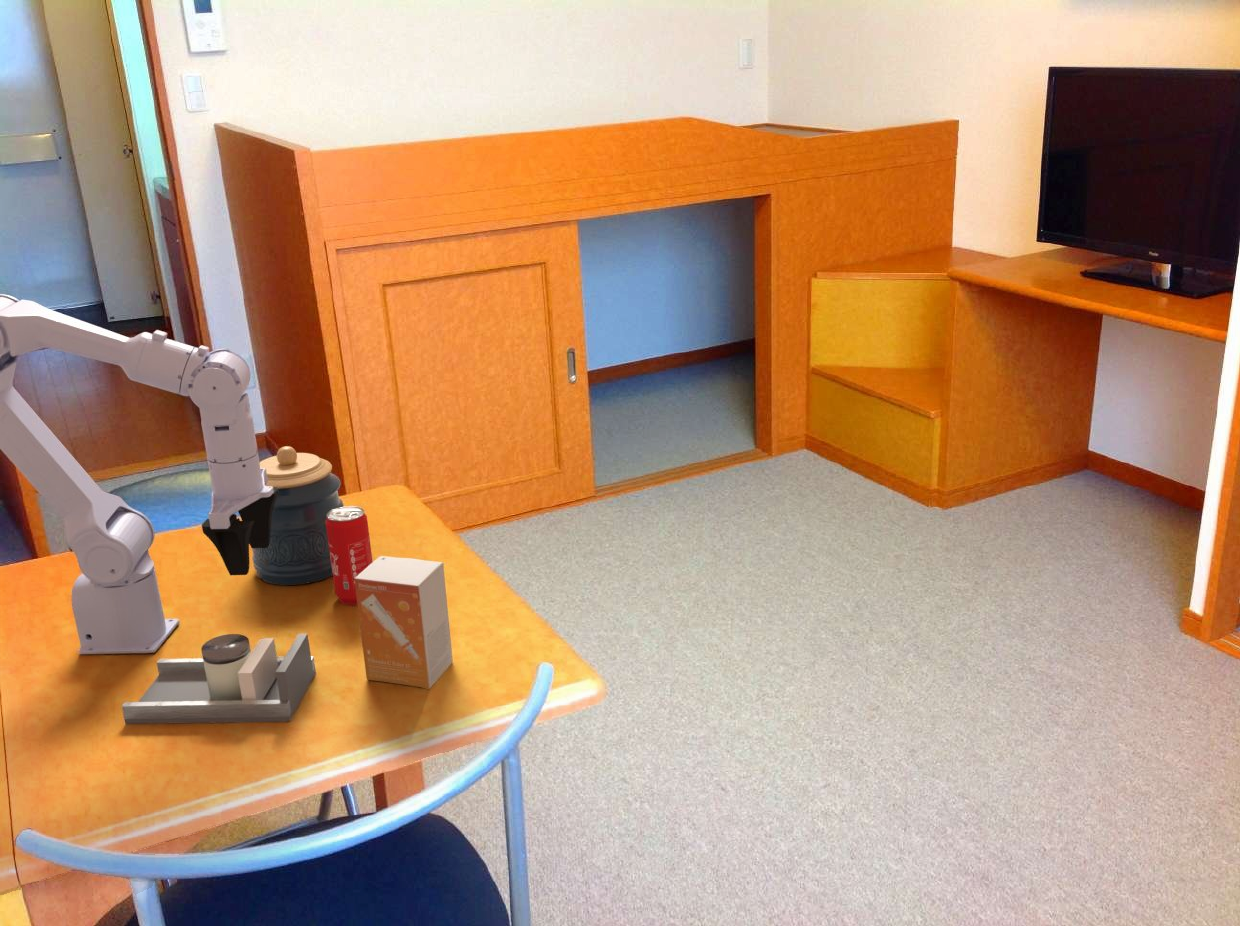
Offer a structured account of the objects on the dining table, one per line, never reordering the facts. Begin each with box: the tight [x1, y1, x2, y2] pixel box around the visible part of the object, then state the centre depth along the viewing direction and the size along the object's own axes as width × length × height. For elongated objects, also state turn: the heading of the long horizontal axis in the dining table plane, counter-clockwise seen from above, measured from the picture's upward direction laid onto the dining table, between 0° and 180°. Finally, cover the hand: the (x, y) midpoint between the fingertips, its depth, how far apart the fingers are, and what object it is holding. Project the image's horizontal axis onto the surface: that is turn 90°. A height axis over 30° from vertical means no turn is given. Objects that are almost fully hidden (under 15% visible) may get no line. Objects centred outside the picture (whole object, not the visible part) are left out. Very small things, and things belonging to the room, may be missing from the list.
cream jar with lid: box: [201, 633, 252, 701], centre depth 128 cm, size 5×5×6 cm
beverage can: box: [325, 505, 374, 606], centre depth 150 cm, size 5×5×12 cm
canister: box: [251, 445, 345, 586], centre depth 158 cm, size 13×13×18 cm
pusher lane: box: [121, 632, 317, 725], centre depth 129 cm, size 18×10×6 cm, turn 88°
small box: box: [355, 555, 453, 690], centre depth 131 cm, size 8×6×13 cm
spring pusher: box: [238, 637, 278, 700], centre depth 128 cm, size 2×8×4 cm, turn 178°
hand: (250, 560), depth 141 cm, fingers open, 7 cm apart
